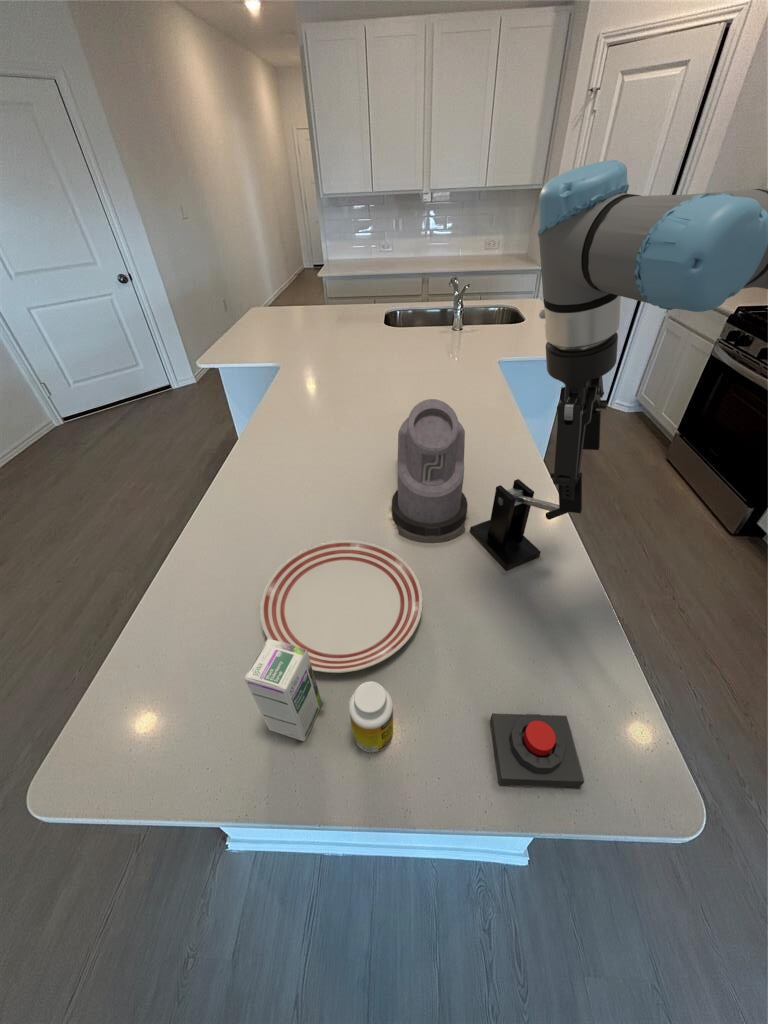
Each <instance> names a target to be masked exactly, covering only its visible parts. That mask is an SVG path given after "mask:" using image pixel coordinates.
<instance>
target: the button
mask: <svg viewBox="0 0 768 1024" xmlns="http://www.w3.org/2000/svg"><path fill="white" fill-rule="evenodd" d="M523 739H524V743H525V745H526V747H527V748H528V750H529V751H531V752H532V753H533V754H535V755H539V756H545V755H547V754H549V753H550V752H551V750H552V749H553V747H554V745H555V742H556V736H555V733H554V731H553V729H552V728H551V727H550V726H549V725H548V724H546V723H545V722H542V721H532V722H530V723H529V724H528V725H527V727H526V730H525V732H524V736H523Z"/></svg>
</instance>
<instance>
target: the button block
mask: <svg viewBox="0 0 768 1024" xmlns="http://www.w3.org/2000/svg"><path fill="white" fill-rule="evenodd" d="M532 721H542V722H545V723H546V724H548V725H549V726H550V727H551V728H552V729H553V731H554V733H555V736H556V742H555V745H554V747H553V749H552V750H551V752H550V753H549V754H547V755H545V756H539V755H535V754H533V753H532V752H531V751H529V750H528V748H527V747H526V745H525V743H524V739H523V736H524V732H525V730H526V727H527V725H528V724H529V723H530V722H532ZM489 723H490V724H489V725H490V731H491V737H492V746H493V753H494V760H495V767H496V775H497V782H498V785H499V786H516V787H517V786H518V787H519V786H520V787H545V788H546V787H547V788H570V789H571V788H573V789H574V788H575V789H580V788H581V787H582V785H583V784H584V783H585V778H584V774H583V771H582V767H581V764H580V760H579V757H578V753H577V749H576V745H575V741H574V737H573V735H572V730H571V728H570V723H569V720H568V716H567V715H559V714H558V715H557V714H556V715H553V714H539V713H536V714H535V713H526V714H525V713H524V714H523V713H522V714H521V713H520V714H519V713H491V716H490V719H489Z"/></svg>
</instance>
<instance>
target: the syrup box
mask: <svg viewBox="0 0 768 1024" xmlns="http://www.w3.org/2000/svg"><path fill="white" fill-rule="evenodd" d="M243 679H244V681H245V683H246V685H247V688H248V689H249V691H250V694H251V696H252V698H253V700H254V702H255V703H256V705H257V708H258V709H259V711H260V713H261V716H262V718H263V720H264V722H265V724H266V726H267V728H268V730H269V731H272V732H274V733H277V734H280V735H282V736H286V737H289V738H292V739H295V740H298V741H301V742H304V743H305V742H306V741H307V739H308V737H309V735H310V732H311V730H312V728H313V725H314V723H315V721H316V719H317V717H318V714H319V712H320V710H321V707H322V705H323V702H322V698H321V695H320V691H319V688H318V685H317V681H316V677H315V674H314V670H312V666H311V663H310V659H309V656H308V652H307V650H306V649H303V648H300V647H297V646H294V645H291V644H288V643H284V642H280V641H275V640H271V639H268V638H267V639H266V641H265V643H264V645H263V647H262V648H261V650H260V651H259V653H258V654H257V656H256V657H255V659H254V660H253V662H252V664H251V666H250V667H249V669H248V671H247V672H246V674H245V676H244V677H243Z"/></svg>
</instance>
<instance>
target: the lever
mask: <svg viewBox="0 0 768 1024" xmlns="http://www.w3.org/2000/svg"><path fill="white" fill-rule="evenodd" d="M506 490H507V491H508V492H509V493H510V494H511V495H513V496H514V497H515V498H516V501H515V506H517V505H519V504H522V503H523V504H526V505H530V506H531V507H534V508H538V509H542V510H544V511H547V512H545V518H546V520H553V519H555V518H558V517H560V516H564V515H566V514H568V513H569V512H565V511H559V504H557V503H553V502H549V501H545V500H543V499H542V500H541V499H537V498H534V497H533V498H530V497H526V496H523V491H522V490H519V489H515V488H513V487H511V488H509V489H506Z"/></svg>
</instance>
